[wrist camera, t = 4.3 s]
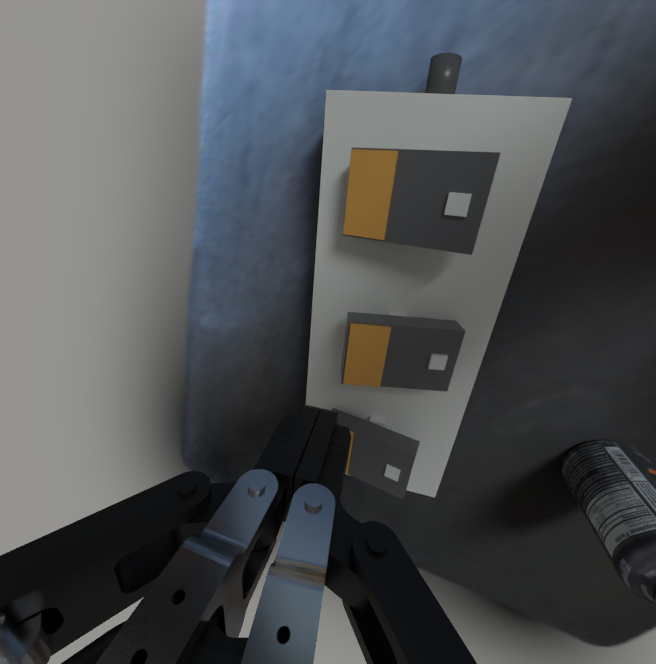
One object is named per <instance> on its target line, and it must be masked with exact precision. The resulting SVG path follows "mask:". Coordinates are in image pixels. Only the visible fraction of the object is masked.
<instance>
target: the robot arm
mask: <svg viewBox="0 0 656 664" xmlns="http://www.w3.org/2000/svg"><path fill="white" fill-rule="evenodd" d="M338 418H339V412H337V411H332V410H328V409H323V408H322V409H321V408H318V407H314V406H309V405H304V406H303V408H302V410H301V412H300V414H299V416H297V415H293V414H289V415H287V416H286V417H285V418H283V419H282V420H281V421H280V423H279V424H278V426H277V428H276V430H275V432H274V433H273V435H272V437H271V440H270V441H269V442H268V444H267V446H266V448H265V449H264V451H263V453H262V455H261V457H260V458H259V460H258V462H257V464H256V466H255V467H254V469H253V470H251V471H249V472H247V473H245V474H244V475H242V476H241V477H240V478H239V480H238V481H235V482H229V483H210V479H209V477H208V476H207V475H206V474H204V473H202V472H199V471H189V472H185V473H183V474H180V475H178V476H176V477H173V478H171V479H169V480H167V481H165V482H162V483H160V484H158V485H156V486H154V487H151V488H149V489H147V490H145V491H143V492H140V493H138V494H136V495H134V496H131V497H129V498H127V499H125V500H123V501H121V502H118V503H116V504H114V505H112V506H109V507H107V508H105V509H103V510H101V511H98V512H96V513H94V514H92V515H90V516H87V517H85V518H83V519H81V520H78V521H76V522H74V523H72V524H70V525H67V526H65V527H63V528H61V529H58V530H56V531H54V532H52V533H50V534H48V535H45V536H43V537H41V538H39V539H37V540H34V541H32V542H30V543H28V544H25V545H23V546H21V547H19V548H16V549H14V550H12V551H10V552H8V553H5V554H3V555H1V556H0V664H47V663H48V661H49V659H50V656H52V655H53V654H55V653H56V652H58V651H59V650H61V649H63V648H64V647H66V646H67V645H69V644H70V643H72V642H74V641H75V640H77V639H78V638H80V637H81V636H83V635H85V634H86V633H88V632H89V631H91V630H92V629H94V628H96V627H97V626H99V625H100V624H102V623H103V622H105V621H107V620H108V619H110V618H111V617H113V616H114V615H116V614H118V613H119V612H121V611H122V610H124V609H125V608H127V607H128V606H130V605H132V604H133V603H135V602H136V601H138V600H140V599H141V598H143V597H144V598H143V599H142V600H141V602H140V603H139V605H138V606H137V607H136V609H135V610H134V612H133V613H132V614H131V616H130V617H129V618H128V620H127V621H125V622H123V623H121V624H119V625H117V626H115V627H114V628H112V629H111V630H109V631H108V632H106V633H105V634H103V635H102V636H101V637H99V638H97V639H96V640H95V641H93V642H92V643H90V644H89V645H87V646H86V647H84V648H83V649H82V650H80V651H79V652H77V653H76V654H74V655H73V656H71V657H70V658H68V659H67V660H66V661H64V662H63V663H61V664H313V662H314V655H315V648H316V641H317V634H318V627H319V619H320V612H321V605H322V598H323V591H324V585H325V586H327V587H328V588H329V589H330V590H331V591H333V592H334V593H335V594H336V595H338V596H339V597H340V598H341V599H342V601H343V605H344V608H345V610H346V613H347V616H348V618H349V620H350V623H351V626H352V628H353V630H354V633H355V635H356V638H357V640H358V643H359V645H360V647H361V650H362V652H363V655H364V657H365V660H366V662H367V664H477V663H476V661H475V660H474V658H473V657H472V655H471V654H470V652H469V650H468V649H467V647H466V646H465V644H464V642H463V641H462V639H461V638H460V636H459V634H458V633H457V631H456V630H455V628H454V626H453V625H452V623H451V622H450V620H449V619H448V617H447V616H446V614H445V612H444V611H443V609H442V607H441V606H440V604H439V603H438V601H437V600H436V598H435V596H434V595H433V593H432V592H431V590H430V588H429V587H428V585H427V584H426V582H425V581H424V579H423V577H421V574H420V573H419V571H418V570H417V568H416V566H415V565H414V563H413V562H412V560H411V558H410V557H409V555H408V554H407V552H406V551H405V549H404V547H403V546H402V544H401V543H400V541H399V539H398V538H397V536H396V535H395V533H394V532H393V531H392V530H391V529H390V528H389V527H387V526H386V525H384V524H382V523H380V522H376V521H368V522H365V523H363V524H362V523H360V522H359V521H357V520H356V519H354V518H353V517H352V516H350V515H349V514H348V513H347V512H346V511H345V509H344V508H343V506H342V504H341V502H340V495H341V491H342V486H343V481H344V477H345V472H346V467H347V462H348V456H349V450H350V443H351V434H350V431H349V427H345V426H341V425H338ZM282 521H284V522H286V523H285V526H284V530H283V533H282V537H281V540H280V544H279V547H278V551H277V554H276V558H275V560H274V563H272V564H271V566H270V568H269V570H268V574H267V576H266V580H265V583H264V586H263V590H262V594H261V597H260V600H259V604H258V607H257V610H256V614H255V617H254V621H253V624H252V627H251V631H250V634H249V637H248V638H238V636H239V633H240V631H241V628H242V624H243V621H244V617H245V613H246V609H247V606H248V604H249V601H250V599H251V597H252V595H253V592H254V590H255V588H256V586H257V584H258V581H259V579H260V577H261V575H262V572H263V570H264V568H265V566H266V563H267V562H268V559H269V557H270V554H271V553H272V551H273V548H274V546H275V543H276V539H277V535H278V532H279V529H280V527H281V524H282Z"/></svg>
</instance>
